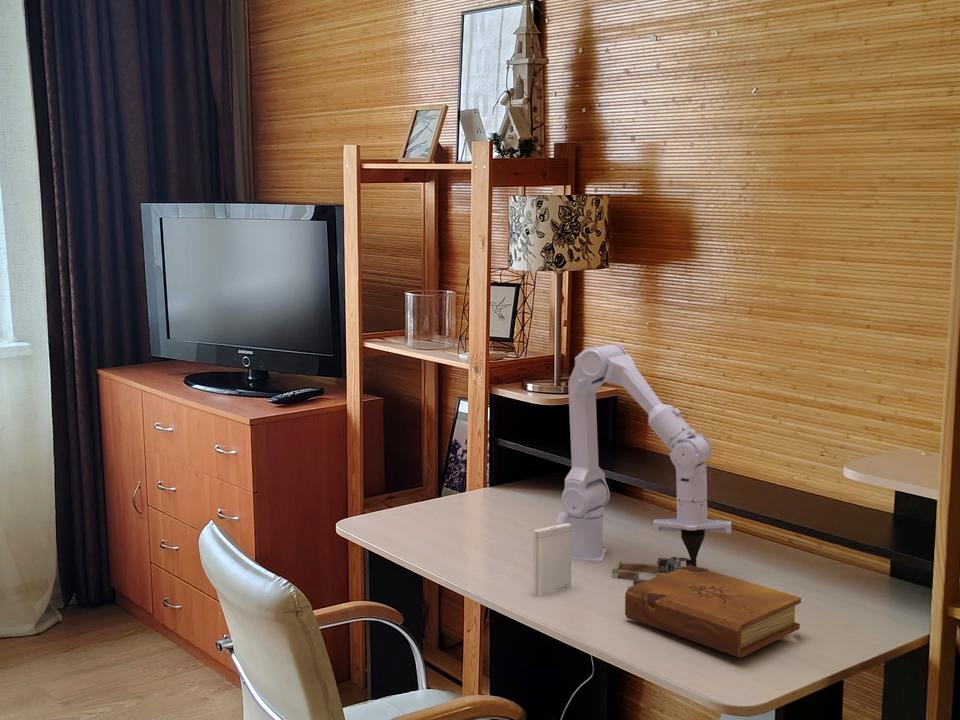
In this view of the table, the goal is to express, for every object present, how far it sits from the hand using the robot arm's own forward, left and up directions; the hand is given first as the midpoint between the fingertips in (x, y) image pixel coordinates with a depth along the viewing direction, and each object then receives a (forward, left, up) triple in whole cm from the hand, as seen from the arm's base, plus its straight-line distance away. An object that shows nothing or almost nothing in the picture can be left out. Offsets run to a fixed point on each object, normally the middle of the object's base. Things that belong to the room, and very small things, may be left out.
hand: (693, 568), depth 203 cm
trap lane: (-6, 0, -2) cm, 7 cm away
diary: (+4, -21, -3) cm, 22 cm away
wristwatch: (-2, 0, -3) cm, 4 cm away
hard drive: (-25, -13, -3) cm, 28 cm away
